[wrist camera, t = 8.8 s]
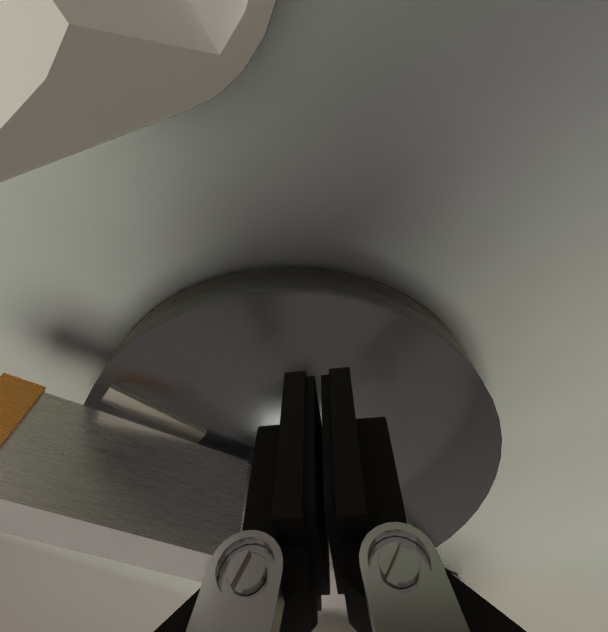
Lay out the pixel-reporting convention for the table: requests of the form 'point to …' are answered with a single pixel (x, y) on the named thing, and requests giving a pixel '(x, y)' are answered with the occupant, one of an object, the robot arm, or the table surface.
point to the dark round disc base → (316, 359)
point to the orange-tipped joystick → (121, 489)
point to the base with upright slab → (112, 68)
